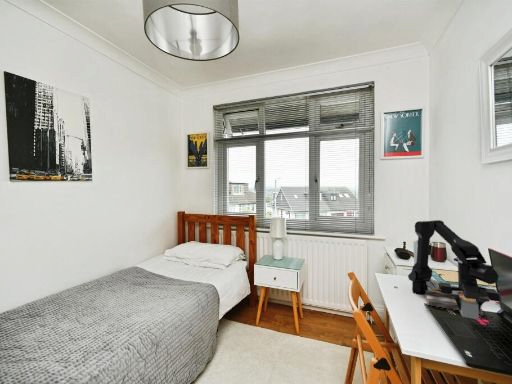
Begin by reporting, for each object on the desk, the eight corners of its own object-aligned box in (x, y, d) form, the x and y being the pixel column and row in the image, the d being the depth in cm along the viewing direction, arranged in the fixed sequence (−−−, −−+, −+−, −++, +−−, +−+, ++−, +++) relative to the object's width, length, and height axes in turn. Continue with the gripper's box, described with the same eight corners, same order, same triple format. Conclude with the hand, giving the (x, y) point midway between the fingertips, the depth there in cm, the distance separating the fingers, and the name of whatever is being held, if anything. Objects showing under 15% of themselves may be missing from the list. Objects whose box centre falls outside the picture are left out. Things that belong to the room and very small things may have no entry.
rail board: (427, 306, 114) (427, 300, 114) (424, 295, 125) (424, 289, 125) (483, 316, 104) (483, 309, 104) (474, 303, 115) (474, 297, 115)
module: (462, 316, 98) (462, 301, 98) (458, 308, 104) (458, 294, 104) (478, 319, 95) (478, 304, 95) (473, 311, 101) (473, 297, 101)
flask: (428, 286, 135) (426, 243, 135) (418, 285, 137) (417, 242, 137) (422, 276, 151) (421, 237, 150) (414, 275, 153) (413, 236, 152)
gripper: (442, 277, 97) (443, 315, 97) (506, 285, 87) (507, 327, 88) (438, 269, 107) (439, 303, 107) (494, 275, 97) (495, 313, 97)
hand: (468, 311), depth 99 cm, fingers closed on module, 5 cm apart
